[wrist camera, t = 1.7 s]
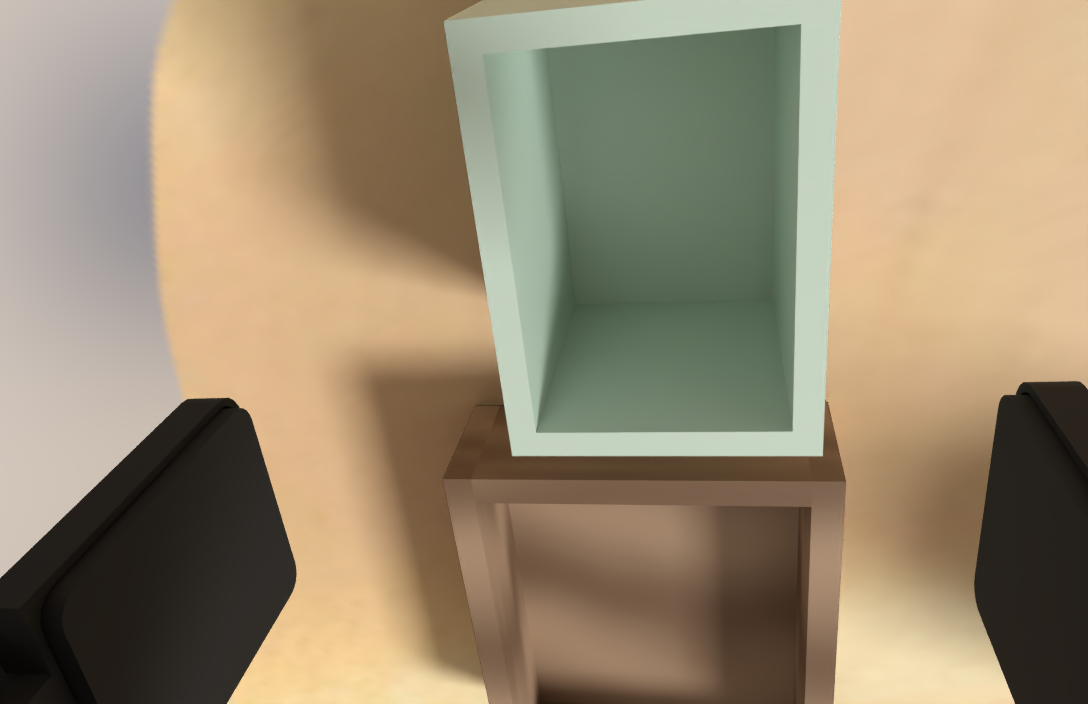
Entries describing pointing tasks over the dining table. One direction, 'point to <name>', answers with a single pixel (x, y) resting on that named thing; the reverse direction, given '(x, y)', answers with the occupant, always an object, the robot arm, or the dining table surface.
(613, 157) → the small crate
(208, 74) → the dining table surface
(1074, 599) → the robot arm
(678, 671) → the large crate
